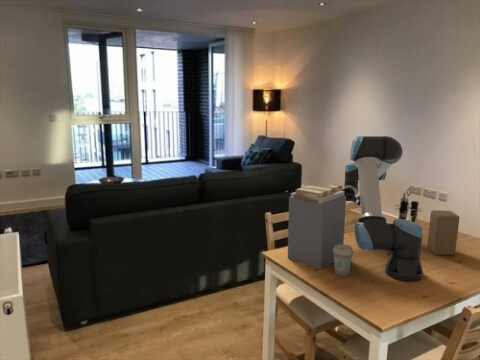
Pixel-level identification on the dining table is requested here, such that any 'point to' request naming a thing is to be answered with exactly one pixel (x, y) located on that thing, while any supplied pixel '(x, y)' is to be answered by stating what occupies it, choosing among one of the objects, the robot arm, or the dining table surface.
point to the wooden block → (443, 232)
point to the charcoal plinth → (315, 229)
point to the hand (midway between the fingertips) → (342, 201)
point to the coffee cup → (342, 259)
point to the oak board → (316, 192)
